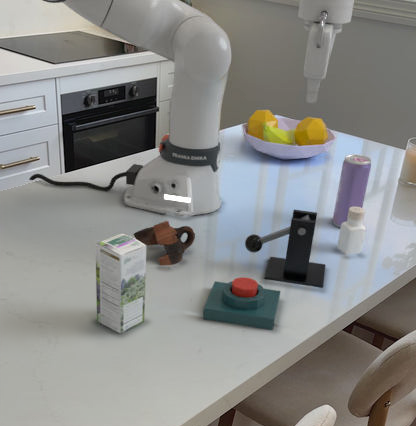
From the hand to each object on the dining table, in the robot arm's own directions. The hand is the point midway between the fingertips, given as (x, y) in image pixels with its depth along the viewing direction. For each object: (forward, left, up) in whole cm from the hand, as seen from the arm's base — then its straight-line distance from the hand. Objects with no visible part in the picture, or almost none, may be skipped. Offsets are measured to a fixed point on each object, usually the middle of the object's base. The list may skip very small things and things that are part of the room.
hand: (312, 95), depth 119 cm
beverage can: (+11, +20, -31) cm, 39 cm away
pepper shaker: (+12, +5, -31) cm, 34 cm away
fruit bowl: (-8, +66, -31) cm, 74 cm away
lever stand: (+2, -9, -31) cm, 32 cm away
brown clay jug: (-24, -9, -31) cm, 41 cm away
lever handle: (-2, -9, -25) cm, 26 cm away
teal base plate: (-6, -25, -31) cm, 40 cm away
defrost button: (-6, -25, -28) cm, 38 cm away
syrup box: (-25, -35, -31) cm, 53 cm away
